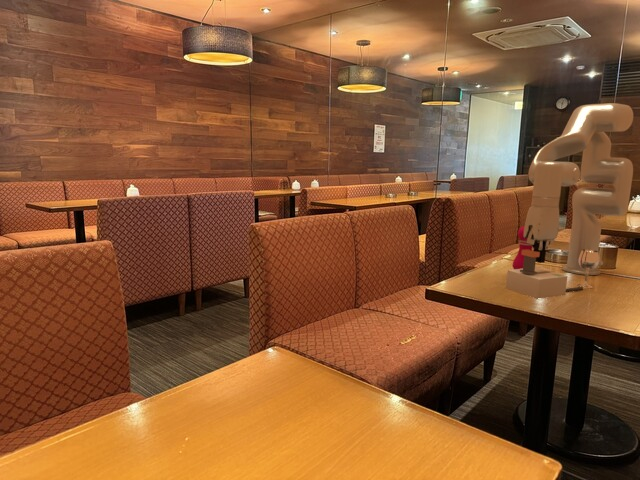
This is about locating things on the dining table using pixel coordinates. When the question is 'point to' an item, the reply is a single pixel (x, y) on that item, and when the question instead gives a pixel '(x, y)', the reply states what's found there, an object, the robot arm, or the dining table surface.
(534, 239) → the robot arm
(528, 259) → the breaker handle
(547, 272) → the box
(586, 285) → the wineglass
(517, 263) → the pepper mill
